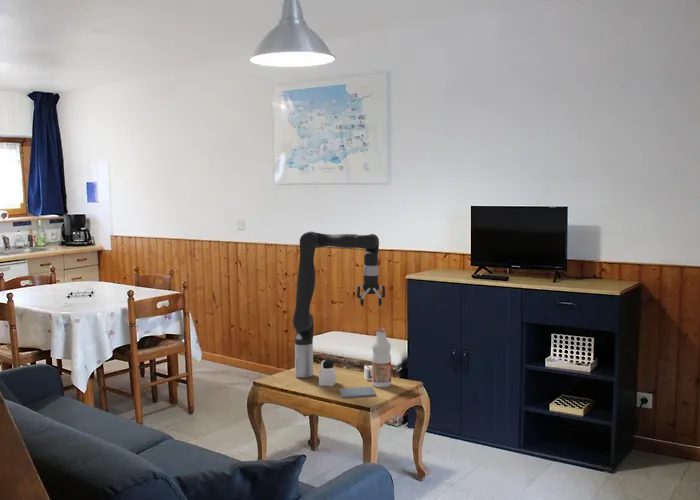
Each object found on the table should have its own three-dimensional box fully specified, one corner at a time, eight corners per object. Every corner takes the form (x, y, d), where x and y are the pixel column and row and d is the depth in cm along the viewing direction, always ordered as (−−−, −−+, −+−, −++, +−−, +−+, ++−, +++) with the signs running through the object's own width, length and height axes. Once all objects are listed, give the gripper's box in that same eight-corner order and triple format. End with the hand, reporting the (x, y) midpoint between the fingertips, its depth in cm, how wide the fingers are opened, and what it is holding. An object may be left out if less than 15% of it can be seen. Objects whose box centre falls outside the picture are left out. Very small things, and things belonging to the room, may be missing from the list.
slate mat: (342, 398, 301) (342, 396, 301) (338, 390, 313) (338, 388, 313) (376, 395, 303) (376, 394, 303) (371, 388, 315) (371, 386, 315)
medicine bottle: (336, 382, 326) (335, 358, 324) (333, 386, 319) (332, 362, 317) (322, 381, 327) (322, 358, 326) (318, 385, 320) (318, 362, 319)
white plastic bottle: (368, 384, 321) (367, 328, 319) (383, 381, 327) (383, 326, 324) (379, 389, 314) (379, 332, 311) (395, 385, 319) (394, 329, 316)
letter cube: (366, 380, 328) (366, 368, 327) (364, 377, 334) (364, 365, 333) (378, 380, 329) (378, 368, 328) (375, 376, 335) (375, 365, 334)
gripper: (383, 272, 330) (383, 304, 332) (355, 273, 328) (355, 305, 329) (386, 274, 323) (386, 307, 324) (358, 275, 320) (358, 307, 322)
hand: (370, 305), depth 327 cm, fingers open, 8 cm apart
